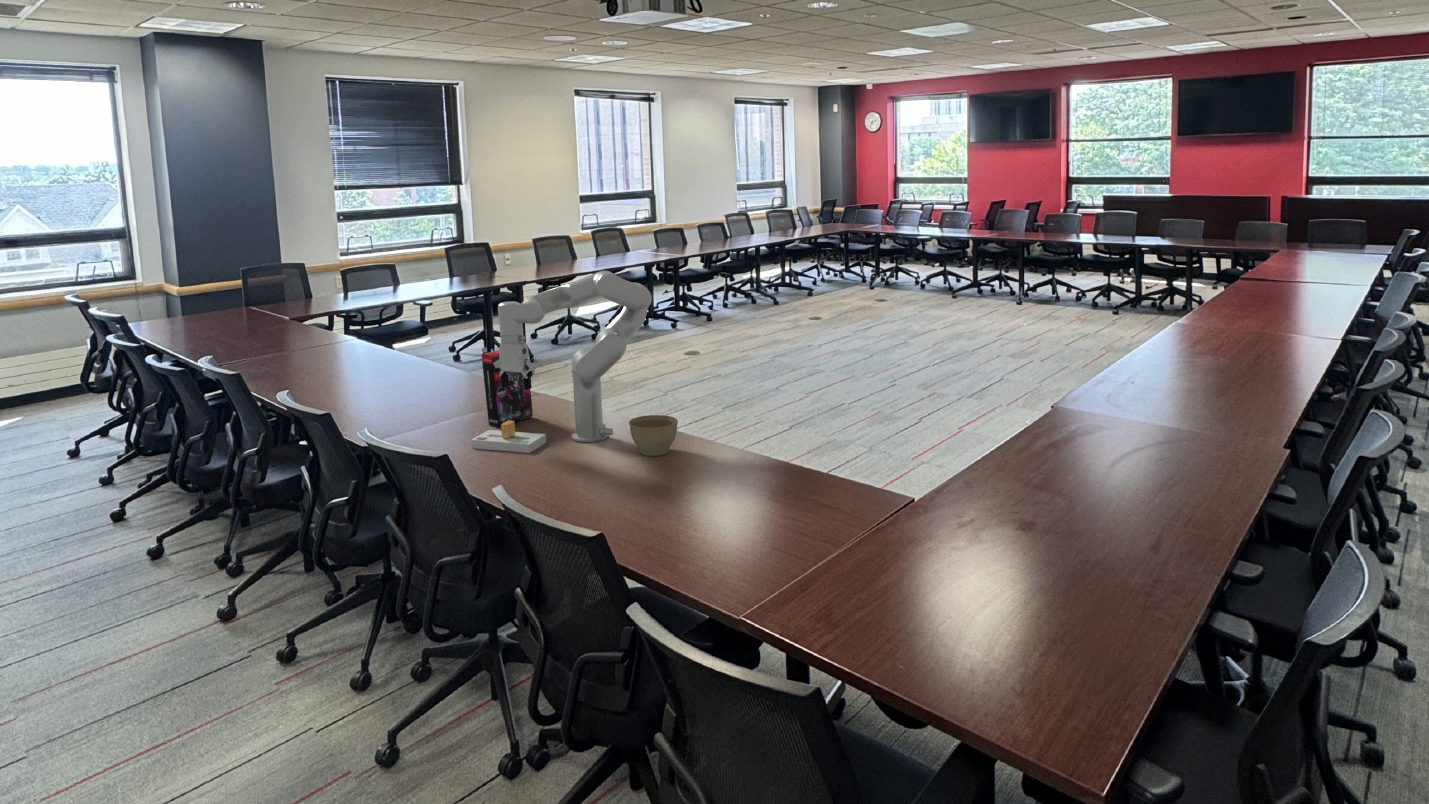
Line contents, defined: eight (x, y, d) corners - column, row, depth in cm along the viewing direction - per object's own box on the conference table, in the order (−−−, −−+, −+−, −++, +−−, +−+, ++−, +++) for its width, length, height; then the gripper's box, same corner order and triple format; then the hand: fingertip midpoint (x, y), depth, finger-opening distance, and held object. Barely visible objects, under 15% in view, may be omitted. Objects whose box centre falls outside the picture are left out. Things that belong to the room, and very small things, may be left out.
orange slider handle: (516, 440, 318) (515, 421, 316) (509, 444, 313) (507, 424, 311) (508, 439, 319) (507, 420, 317) (501, 443, 314) (500, 424, 312)
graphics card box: (498, 428, 337) (492, 355, 330) (486, 425, 341) (480, 353, 334) (533, 417, 350) (528, 347, 343) (521, 414, 354) (516, 345, 347)
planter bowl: (688, 451, 307) (687, 419, 304) (654, 463, 295) (653, 430, 293) (654, 441, 317) (653, 411, 315) (620, 453, 306) (618, 421, 303)
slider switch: (546, 442, 319) (545, 433, 318) (529, 452, 308) (529, 443, 307) (489, 437, 325) (489, 429, 324) (471, 448, 314) (471, 439, 313)
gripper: (539, 338, 307) (543, 387, 312) (499, 335, 315) (503, 383, 320) (525, 342, 301) (529, 392, 305) (484, 339, 309) (489, 388, 313)
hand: (516, 387), depth 313 cm, fingers open, 9 cm apart
